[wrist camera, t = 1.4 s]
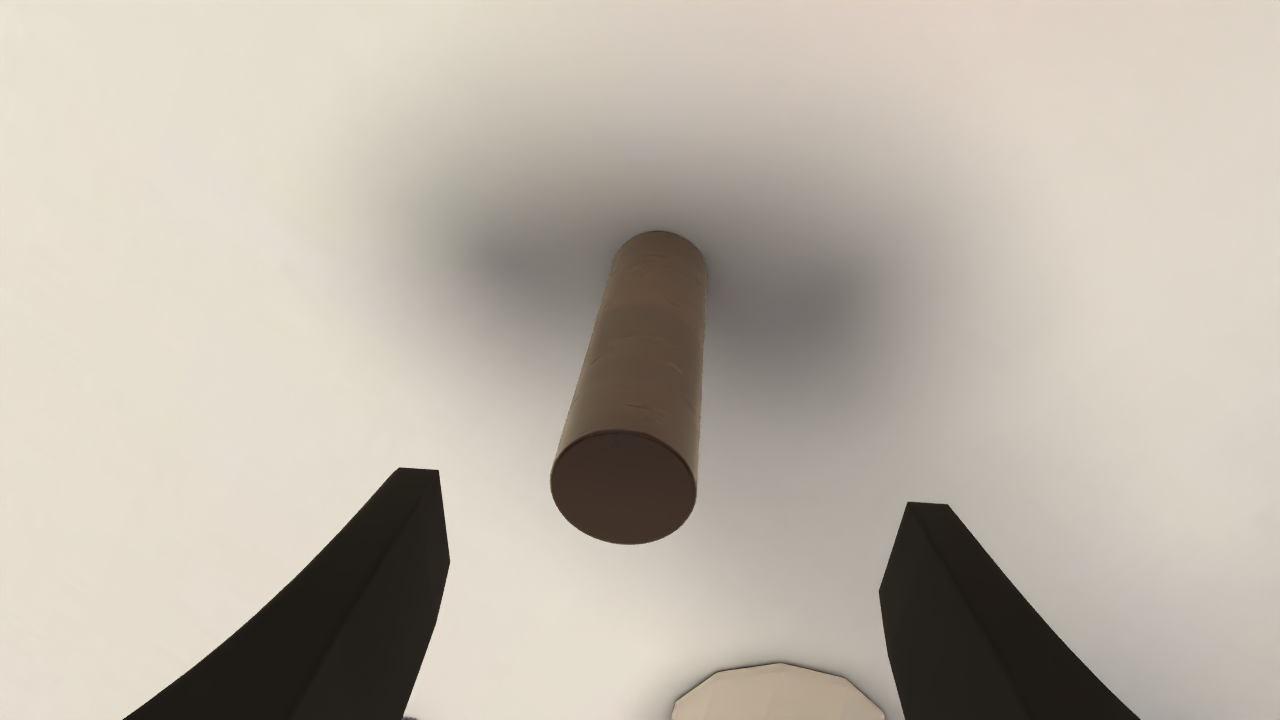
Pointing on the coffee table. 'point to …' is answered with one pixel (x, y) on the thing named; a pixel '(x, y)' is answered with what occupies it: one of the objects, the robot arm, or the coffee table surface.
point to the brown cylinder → (638, 398)
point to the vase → (775, 696)
